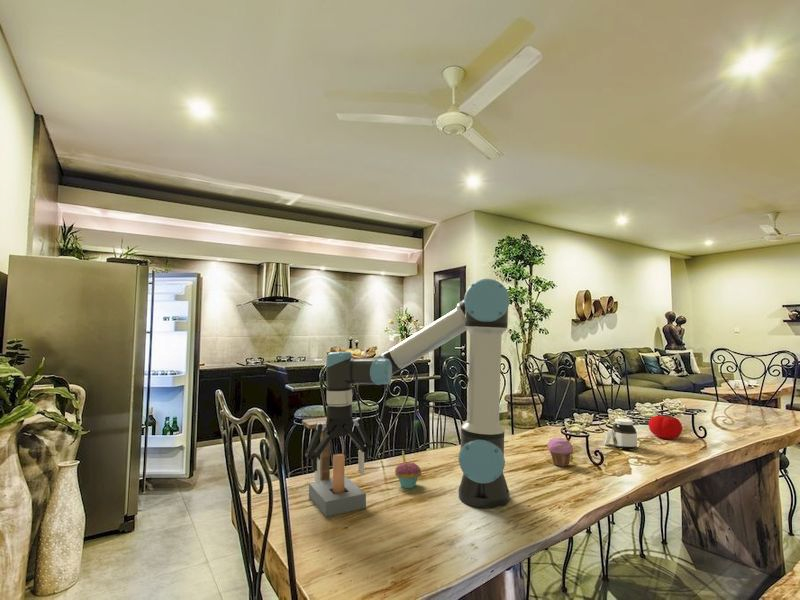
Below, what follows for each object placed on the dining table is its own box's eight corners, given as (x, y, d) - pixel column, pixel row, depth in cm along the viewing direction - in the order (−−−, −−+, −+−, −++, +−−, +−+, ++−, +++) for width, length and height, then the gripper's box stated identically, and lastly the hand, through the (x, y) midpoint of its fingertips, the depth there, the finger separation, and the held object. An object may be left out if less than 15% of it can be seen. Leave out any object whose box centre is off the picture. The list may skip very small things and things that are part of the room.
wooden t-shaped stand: (352, 491, 131) (352, 420, 133) (308, 500, 125) (309, 425, 126) (343, 483, 138) (343, 415, 140) (301, 491, 132) (302, 420, 133)
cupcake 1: (402, 492, 131) (402, 453, 131) (390, 483, 138) (390, 446, 139) (426, 487, 135) (425, 449, 135) (413, 479, 142) (412, 443, 143)
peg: (341, 501, 124) (342, 453, 125) (346, 505, 121) (346, 456, 122) (331, 503, 123) (331, 454, 124) (334, 507, 120) (335, 457, 121)
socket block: (365, 507, 119) (365, 493, 120) (325, 516, 114) (325, 501, 114) (345, 489, 134) (345, 476, 134) (308, 496, 128) (309, 483, 128)
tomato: (656, 440, 189) (655, 417, 190) (645, 433, 201) (644, 411, 202) (688, 441, 187) (687, 417, 187) (675, 434, 199) (674, 412, 200)
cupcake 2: (565, 470, 150) (565, 442, 151) (543, 464, 156) (543, 437, 157) (577, 465, 156) (576, 437, 156) (555, 459, 162) (554, 433, 163)
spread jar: (640, 451, 173) (639, 422, 174) (613, 451, 173) (612, 422, 174) (625, 443, 185) (624, 416, 186) (599, 443, 185) (598, 416, 186)
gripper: (372, 398, 133) (373, 466, 132) (294, 406, 121) (294, 481, 120) (382, 401, 126) (383, 473, 125) (301, 410, 115) (301, 490, 113)
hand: (340, 477), depth 122 cm, fingers open, 13 cm apart
